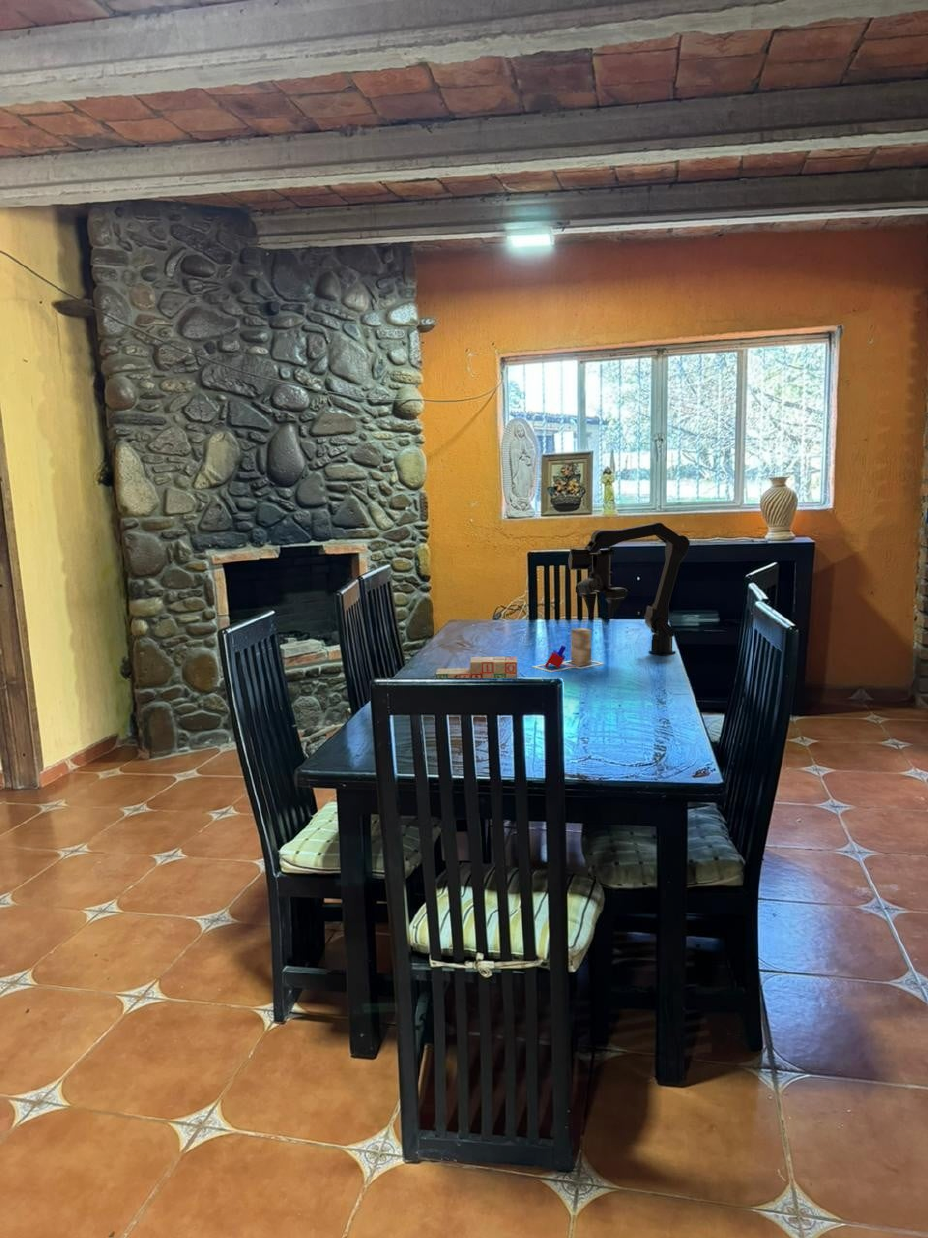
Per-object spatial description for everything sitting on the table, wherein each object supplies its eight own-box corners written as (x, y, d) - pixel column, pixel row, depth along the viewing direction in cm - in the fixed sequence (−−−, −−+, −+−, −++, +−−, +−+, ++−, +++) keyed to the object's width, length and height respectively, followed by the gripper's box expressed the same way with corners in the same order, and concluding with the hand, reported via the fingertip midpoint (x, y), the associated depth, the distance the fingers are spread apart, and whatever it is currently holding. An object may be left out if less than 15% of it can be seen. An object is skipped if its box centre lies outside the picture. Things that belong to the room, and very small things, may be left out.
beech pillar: (583, 661, 259) (583, 627, 257) (591, 664, 255) (590, 630, 253) (571, 663, 257) (571, 629, 255) (578, 666, 253) (578, 631, 251)
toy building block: (556, 673, 251) (568, 651, 249) (544, 666, 252) (556, 644, 249) (557, 670, 255) (570, 648, 252) (546, 663, 255) (558, 642, 253)
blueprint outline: (579, 657, 264) (579, 657, 264) (604, 663, 254) (604, 663, 254) (531, 667, 254) (531, 666, 254) (555, 673, 244) (555, 673, 244)
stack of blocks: (436, 708, 212) (434, 662, 210) (438, 701, 218) (437, 657, 216) (518, 707, 210) (517, 661, 208) (518, 700, 217) (517, 656, 215)
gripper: (563, 568, 264) (563, 615, 267) (602, 573, 249) (602, 623, 251) (588, 566, 270) (588, 612, 273) (628, 570, 255) (628, 619, 257)
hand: (600, 616), depth 263 cm, fingers open, 9 cm apart
